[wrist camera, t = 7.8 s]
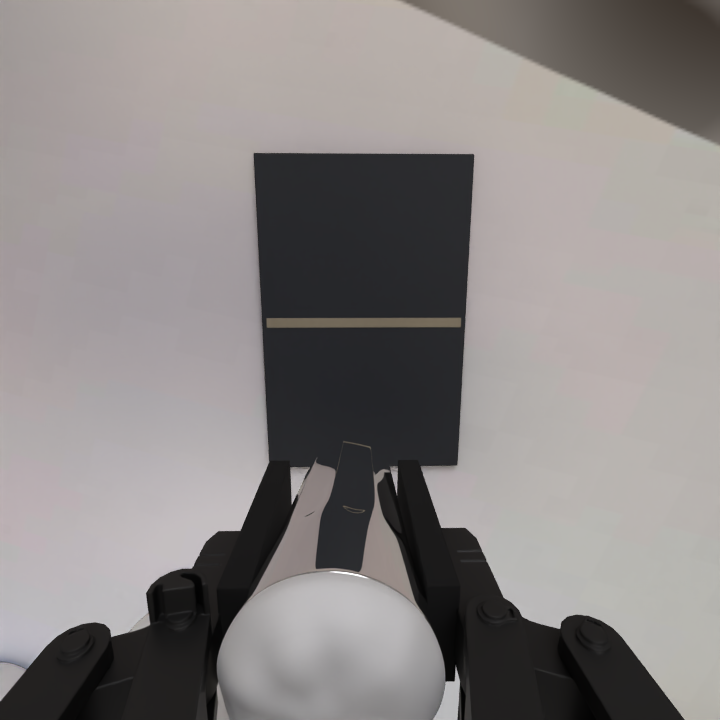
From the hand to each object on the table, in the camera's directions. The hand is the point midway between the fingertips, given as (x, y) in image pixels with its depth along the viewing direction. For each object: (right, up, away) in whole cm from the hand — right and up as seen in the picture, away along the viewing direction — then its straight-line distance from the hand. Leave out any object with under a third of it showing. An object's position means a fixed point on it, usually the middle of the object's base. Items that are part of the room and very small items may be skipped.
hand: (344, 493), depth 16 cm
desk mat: (+1, +8, +11) cm, 14 cm away
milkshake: (0, 0, 0) cm, 0 cm away
